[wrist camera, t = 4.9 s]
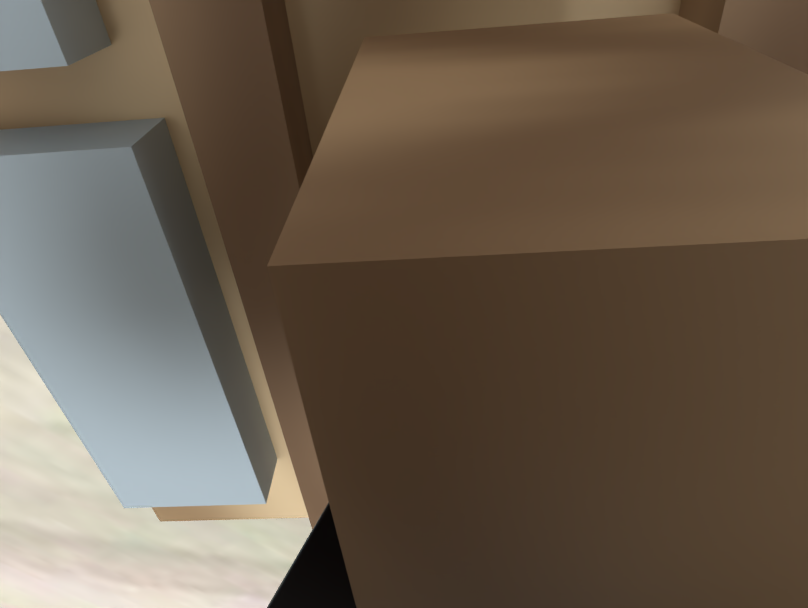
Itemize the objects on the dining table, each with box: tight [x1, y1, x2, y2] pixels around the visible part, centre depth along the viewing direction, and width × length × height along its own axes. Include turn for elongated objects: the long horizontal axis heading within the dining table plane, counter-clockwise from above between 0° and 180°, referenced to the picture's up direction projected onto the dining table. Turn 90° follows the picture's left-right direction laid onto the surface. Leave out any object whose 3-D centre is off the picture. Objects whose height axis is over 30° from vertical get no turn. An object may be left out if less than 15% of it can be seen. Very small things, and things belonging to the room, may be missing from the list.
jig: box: [0, 0, 808, 530], centre depth 12 cm, size 16×18×3 cm
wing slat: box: [0, 118, 277, 508], centre depth 13 cm, size 4×10×2 cm, turn 4°
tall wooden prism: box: [267, 13, 808, 608], centre depth 7 cm, size 4×12×6 cm, turn 4°
